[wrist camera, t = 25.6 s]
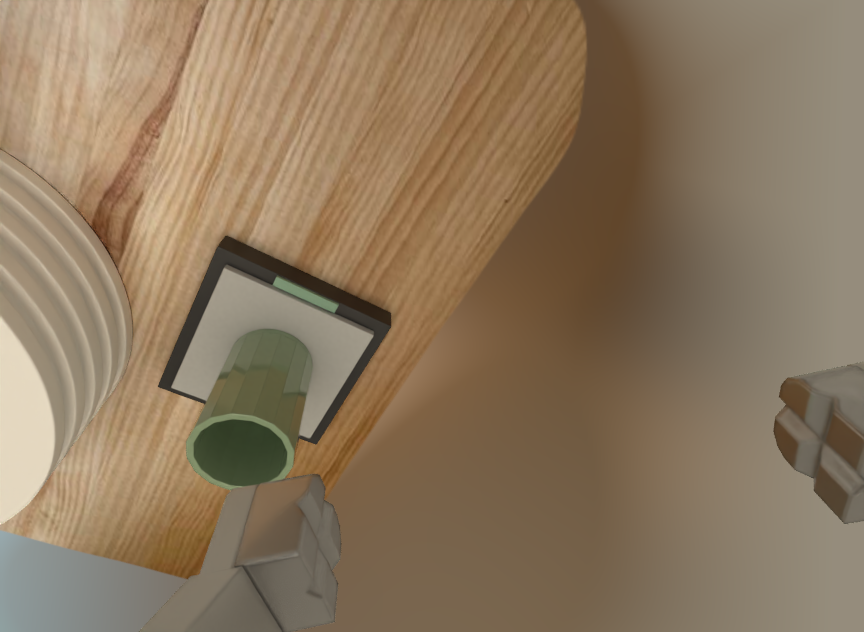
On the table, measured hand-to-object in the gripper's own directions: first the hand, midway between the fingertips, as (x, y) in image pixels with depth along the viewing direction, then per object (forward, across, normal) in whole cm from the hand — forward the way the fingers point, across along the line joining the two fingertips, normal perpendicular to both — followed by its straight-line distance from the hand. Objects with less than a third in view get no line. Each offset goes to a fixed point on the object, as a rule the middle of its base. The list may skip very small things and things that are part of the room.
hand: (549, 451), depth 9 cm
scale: (+31, +16, +14) cm, 38 cm away
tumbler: (+28, +16, +14) cm, 35 cm away
